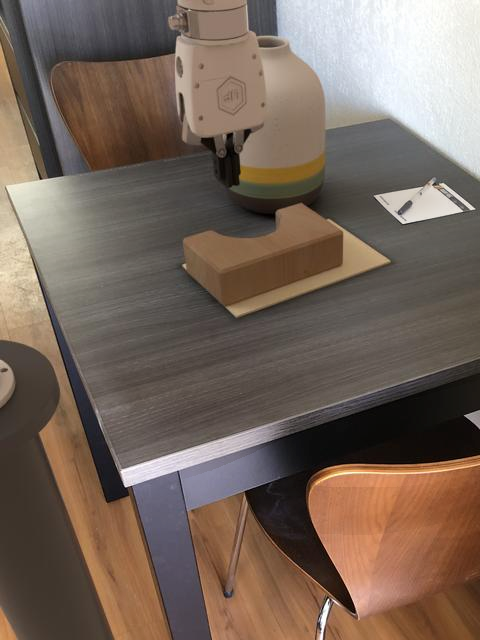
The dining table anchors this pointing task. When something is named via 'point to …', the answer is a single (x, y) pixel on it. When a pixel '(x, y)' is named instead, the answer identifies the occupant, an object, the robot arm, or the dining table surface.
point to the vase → (284, 136)
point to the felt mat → (316, 276)
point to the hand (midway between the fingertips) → (228, 182)
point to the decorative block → (264, 255)
